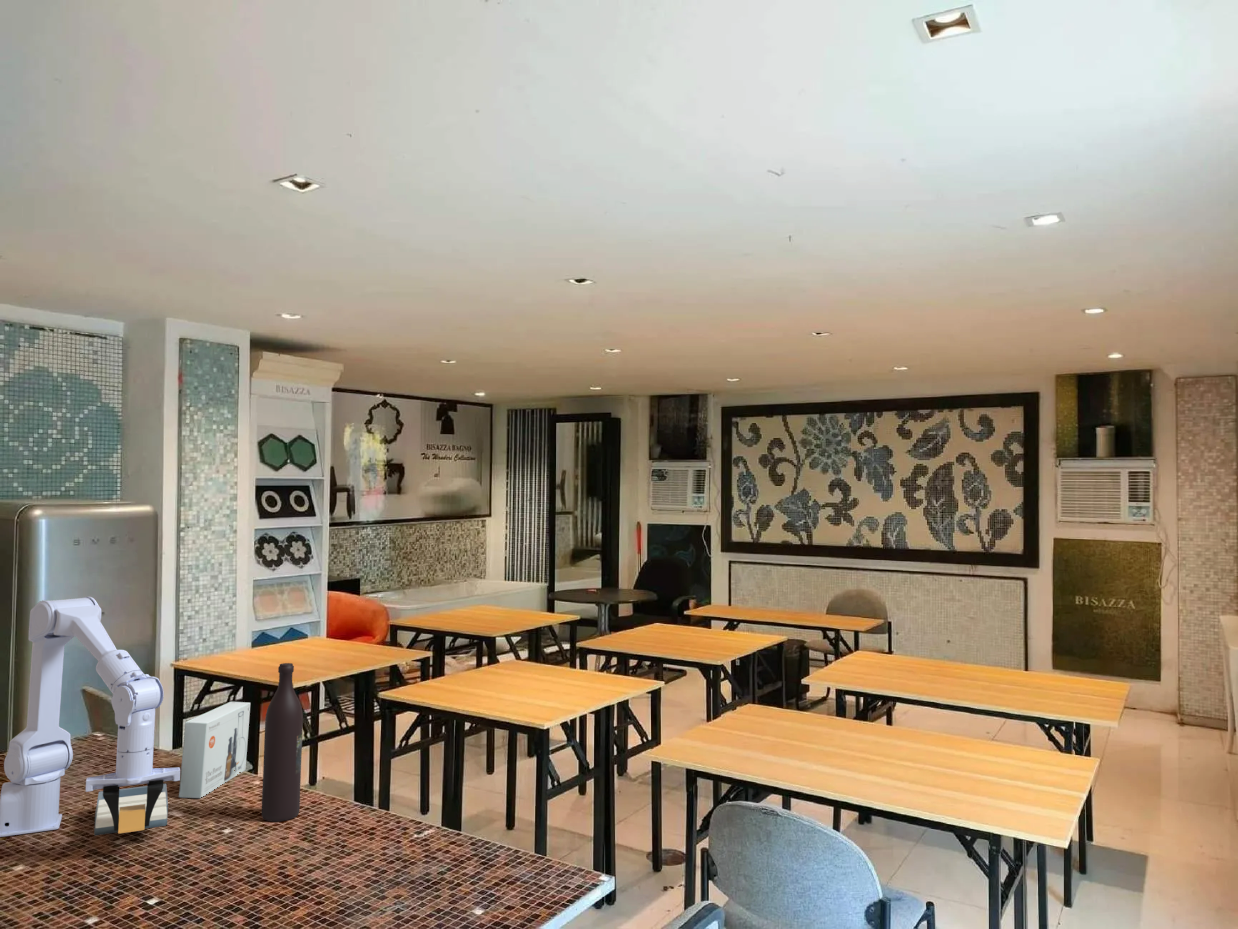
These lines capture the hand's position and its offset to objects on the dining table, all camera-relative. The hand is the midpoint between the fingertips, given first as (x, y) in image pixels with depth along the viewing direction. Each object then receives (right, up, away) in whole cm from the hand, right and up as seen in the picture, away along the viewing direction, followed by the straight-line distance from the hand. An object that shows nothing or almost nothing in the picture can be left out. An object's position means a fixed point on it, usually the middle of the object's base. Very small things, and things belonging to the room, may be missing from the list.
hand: (131, 826), depth 153 cm
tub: (-9, -6, +17) cm, 20 cm away
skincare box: (-4, -7, +39) cm, 40 cm away
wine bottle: (+19, -6, +20) cm, 28 cm away
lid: (-4, -1, +7) cm, 8 cm away
